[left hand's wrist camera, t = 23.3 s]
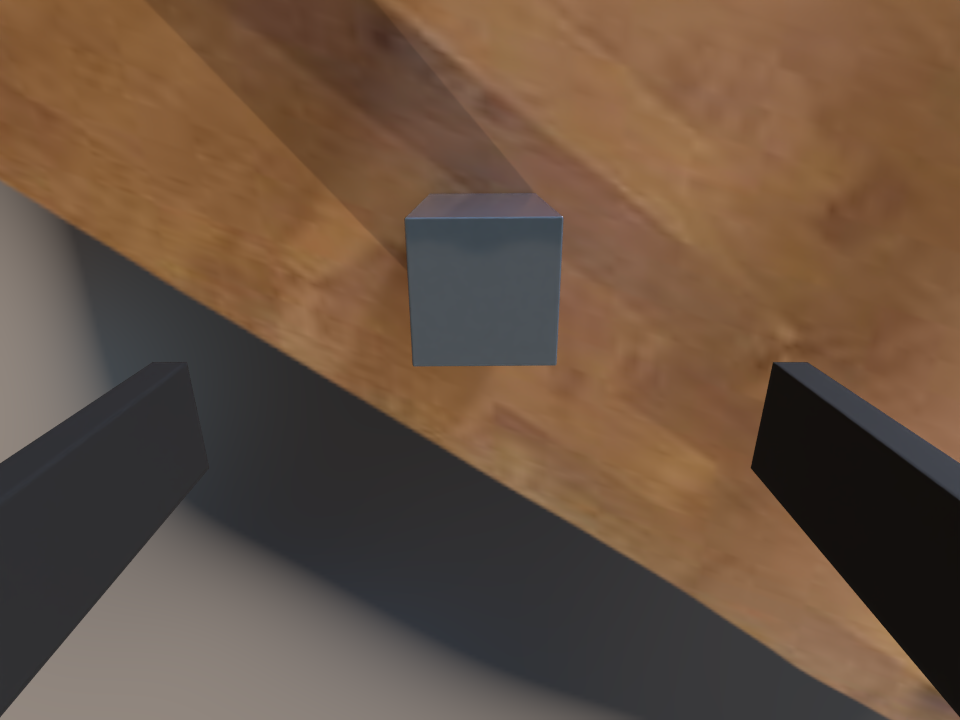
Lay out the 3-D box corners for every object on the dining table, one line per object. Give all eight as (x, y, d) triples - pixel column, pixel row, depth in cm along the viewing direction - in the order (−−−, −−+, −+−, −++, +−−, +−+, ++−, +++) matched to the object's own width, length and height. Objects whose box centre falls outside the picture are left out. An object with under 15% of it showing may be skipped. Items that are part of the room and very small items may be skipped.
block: (432, 298, 34) (412, 366, 24) (428, 193, 32) (404, 217, 21) (533, 298, 34) (556, 365, 24) (535, 193, 32) (563, 216, 21)
